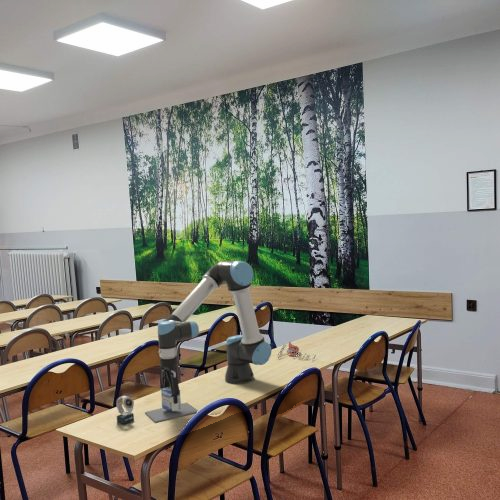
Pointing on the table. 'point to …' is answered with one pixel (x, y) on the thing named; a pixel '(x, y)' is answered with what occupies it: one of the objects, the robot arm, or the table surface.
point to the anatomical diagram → (292, 350)
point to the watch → (128, 404)
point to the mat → (170, 413)
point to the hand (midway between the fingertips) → (171, 407)
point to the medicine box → (168, 399)
